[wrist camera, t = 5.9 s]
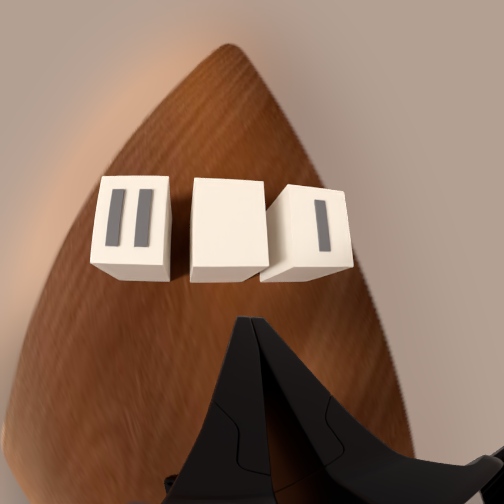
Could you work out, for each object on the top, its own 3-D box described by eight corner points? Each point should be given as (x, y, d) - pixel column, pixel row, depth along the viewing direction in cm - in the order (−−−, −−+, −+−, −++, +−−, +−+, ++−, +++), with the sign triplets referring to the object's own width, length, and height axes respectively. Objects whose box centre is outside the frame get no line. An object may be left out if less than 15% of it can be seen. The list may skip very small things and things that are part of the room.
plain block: (241, 281, 21) (269, 266, 15) (190, 282, 20) (193, 266, 14) (239, 220, 22) (263, 181, 16) (190, 219, 21) (194, 177, 15)
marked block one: (306, 281, 23) (355, 266, 16) (260, 282, 22) (295, 266, 15) (301, 221, 24) (344, 187, 17) (257, 218, 23) (288, 179, 16)
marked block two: (169, 281, 20) (162, 264, 13) (119, 280, 19) (89, 262, 12) (172, 215, 21) (168, 171, 14) (124, 214, 20) (102, 171, 13)
